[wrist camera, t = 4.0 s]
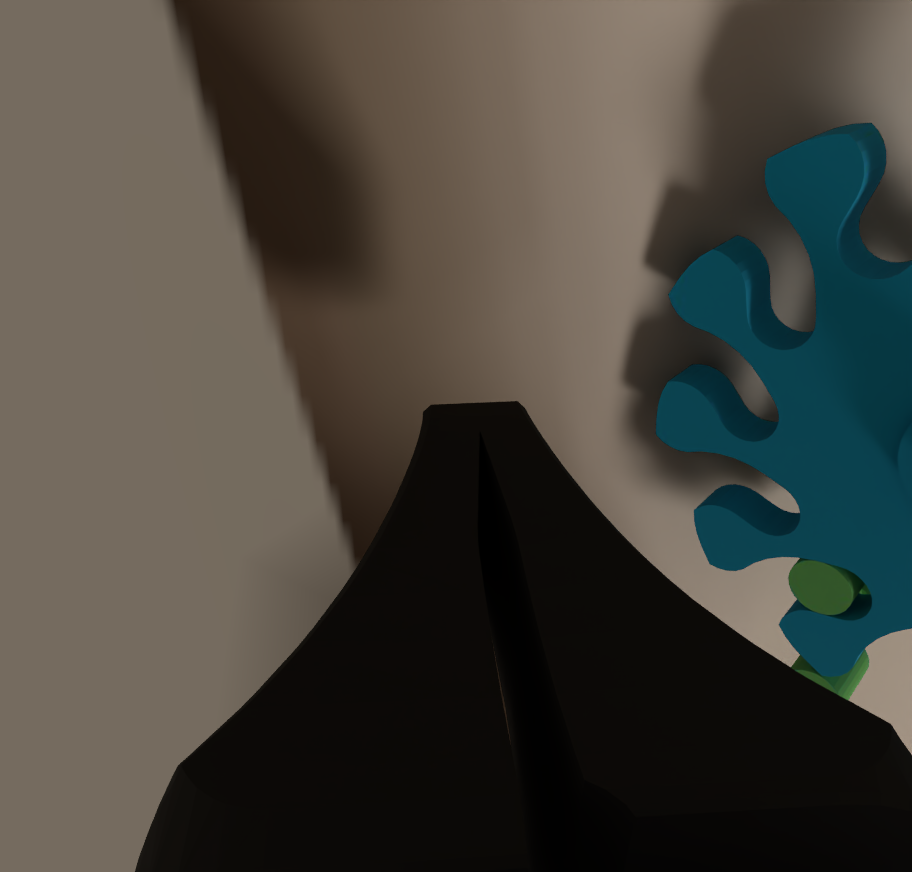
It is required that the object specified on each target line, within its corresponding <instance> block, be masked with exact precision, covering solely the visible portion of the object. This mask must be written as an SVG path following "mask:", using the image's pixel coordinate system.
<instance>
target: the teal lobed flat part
mask: <svg viewBox="0 0 912 872" xmlns="http://www.w3.org/2000/svg"><path fill="white" fill-rule="evenodd" d="M885 166H886V148H885V144H884V140H883V138H882V136H881V135H880V133H879V131H878V130H877V129H876V127H875V126H874V125H873V124H872V123H861V124H851V125H846V126H842V127H838V128H834V129H832V130H829V131H827V132H824V133H822V134H819V135H816V136H814V137H812V138H810V139H807V140H805V141H803V142H801V143H798V144H796V145H794V146H792V147H790V148H788V149H786V150H784V151H782V152H780V153H778V154H776V155H774V156H772V157H770V158H768V159H767V163H766V168H765V184H766V187H767V191H768V194H769V196H770V198H771V200H772V201H773V203H774V205H775V206H776V207H777V208H778V209H779V210H780V211H781V212H782V213H783V214H784V215H785V216H786V217H787V219H788V220H789V221H790V222H791V224H792V225H793V227H794V228H795V230H796V231H797V233H798V234H799V235H800V237H801V239H802V241H803V243H804V246H805V248H806V250H807V252H808V254H809V257H810V261H811V265H812V268H813V272H814V278H815V289H816V324H815V329H814V331H812V332H799V331H796V330H793V329H790V328H789V327H787V326H785V325H784V324H783V323H782V322H781V321H780V320H779V319H778V318H777V316H776V315H775V314H774V311H773V309H772V306H771V299H770V274H769V267H768V264H767V261H766V259H765V257H764V255H763V254H762V252H761V250H760V249H759V248H758V247H757V246H756V245H755V244H754V243H752V242H751V241H749V240H748V239H746V238H743V237H741V236H738V235H737V236H736V237H734V238H732V239H730V240H728V241H727V242H725V243H723V244H721V245H719V246H718V247H716V248H714V249H712V250H710V251H709V252H707V253H705V254H703V255H701V256H700V257H699V258H698V259H697V260H695V261H694V262H693V263H692V264H691V265H690V266H689V267H688V268H687V269H686V271H685V272H684V273H683V274H682V275H681V277H680V278H679V279H678V281H677V282H676V284H675V285H674V287H673V288H672V290H671V291H670V293H669V294H668V295H669V298H670V301H671V304H672V306H673V307H674V309H675V310H676V312H677V314H678V315H679V316H680V317H681V318H682V319H683V320H684V321H686V322H687V323H689V324H690V325H692V326H694V327H697V328H699V329H702V330H704V331H707V332H709V333H711V334H713V335H715V336H717V337H718V338H720V339H722V340H724V341H725V342H726V343H728V344H729V345H730V346H731V347H733V348H734V349H735V350H737V351H738V352H739V353H740V354H741V355H742V356H743V357H744V358H745V359H746V360H747V361H748V363H749V364H750V365H751V366H752V367H753V369H754V370H755V371H756V373H757V374H758V376H759V377H760V379H761V380H762V382H763V383H764V385H765V387H766V388H767V390H768V392H769V393H770V395H771V397H772V398H773V400H774V402H775V404H776V406H777V409H778V414H779V421H778V422H772V421H766V420H763V419H761V418H759V417H757V416H755V415H754V414H753V413H752V412H750V411H749V410H748V408H747V407H746V406H745V404H744V403H743V401H742V399H741V398H740V396H739V394H738V393H737V391H736V389H735V388H734V386H733V385H732V383H731V382H730V380H729V379H728V378H727V377H726V376H725V375H724V374H723V373H721V372H720V371H718V370H717V369H715V368H713V367H710V366H708V365H702V364H694V365H691V366H689V367H688V368H686V369H685V370H684V371H682V372H681V373H679V374H678V375H677V376H675V377H674V378H672V379H671V380H670V381H668V383H667V384H666V386H665V388H664V389H663V391H662V394H661V397H660V400H659V404H658V411H657V419H656V435H657V436H658V437H659V438H660V439H661V440H662V441H663V442H664V443H666V444H667V445H668V446H670V447H672V448H674V449H676V450H679V451H684V452H699V451H703V452H711V453H718V454H722V455H725V456H729V457H732V458H735V459H737V460H739V461H742V462H744V463H746V464H749V465H750V466H752V467H754V468H755V469H757V470H759V471H760V472H762V473H763V474H765V475H766V476H768V477H769V478H771V479H772V480H774V481H775V482H776V483H778V484H779V485H781V486H782V487H784V488H785V489H786V490H787V491H788V492H789V493H791V495H792V496H793V497H794V499H795V500H796V502H797V504H798V506H799V510H800V513H791V512H787V511H784V510H782V509H780V508H778V507H777V506H775V505H774V504H772V503H771V502H770V501H768V500H767V499H765V498H764V497H763V496H761V495H760V494H758V493H757V492H755V491H753V490H752V489H750V488H747V487H745V486H741V485H736V484H733V485H725V486H721V487H720V488H718V489H716V490H715V491H714V492H713V493H712V494H711V495H710V496H709V497H708V498H707V499H705V500H704V501H703V502H702V503H701V504H700V505H699V506H698V507H697V508H696V509H695V510H694V522H695V526H696V531H697V535H698V537H699V540H700V543H701V546H702V548H703V550H704V553H705V555H706V557H707V559H708V561H709V564H711V565H713V566H715V567H717V568H719V569H723V570H727V571H737V570H741V569H744V568H746V567H747V566H749V565H751V564H753V563H755V562H758V561H761V560H764V559H768V558H776V557H798V558H800V559H799V560H798V561H797V563H796V564H795V565H794V566H793V567H792V569H791V571H790V573H789V585H790V588H791V591H792V592H793V594H794V596H795V597H796V598H797V600H796V601H795V603H794V604H793V605H792V607H791V608H790V609H789V610H788V612H787V613H786V614H785V615H784V617H783V618H782V619H781V621H780V623H779V626H780V628H781V629H782V631H783V633H784V635H785V637H786V638H787V639H788V641H789V642H790V643H791V645H792V646H793V647H794V648H795V649H796V651H797V652H798V653H799V654H800V656H799V657H798V659H797V660H796V661H795V663H794V664H793V665H792V667H791V668H792V669H794V670H795V671H797V672H799V673H800V674H802V675H803V676H805V677H807V678H808V679H810V680H812V681H814V682H816V683H817V684H819V685H821V686H823V687H825V688H827V689H828V690H830V691H832V692H834V693H836V694H837V695H839V696H841V697H843V698H845V699H846V700H849V698H850V696H851V695H852V693H853V692H854V690H855V688H856V687H857V685H858V683H859V682H860V680H861V679H862V677H863V675H864V674H865V672H866V671H867V669H868V667H869V658H868V655H867V653H866V650H865V648H866V647H867V646H868V645H869V644H871V643H872V642H874V641H875V640H876V639H878V638H880V637H882V636H885V635H887V634H889V633H892V632H897V631H901V630H905V629H911V628H912V260H911V261H907V262H901V263H898V262H888V261H885V260H881V259H880V258H878V257H876V256H874V255H873V254H872V253H871V252H870V251H869V250H867V248H866V247H865V245H864V244H863V242H862V239H861V237H860V233H859V222H860V216H861V214H862V212H863V210H864V207H865V206H866V204H867V203H868V201H869V199H870V198H871V196H872V194H873V193H874V191H875V189H876V188H877V186H878V184H879V183H880V180H881V178H882V176H883V174H884V170H885Z"/></svg>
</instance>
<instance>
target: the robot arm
mask: <svg viewBox="0 0 912 872" xmlns="http://www.w3.org/2000/svg"><path fill="white" fill-rule="evenodd" d="M491 636H492V637H491ZM492 641H493V643H492ZM493 646H494V649H493ZM494 651H495V655H494ZM495 657H496V661H495ZM496 662H497V667H498V672H499V677H500V682H501V687H502V692H503V697H504V702H505V707H506V713H507V720H508V726H509V733H510V740H511V745H510V740H509V734H508V729H507V724H506V718H505V713H504V708H503V703H502V697H501V691H500V685H499V679H498V673H497V667H496ZM135 872H912V755H911V753H910V752H909V750H908V749H907V748H906V746H905V745H904V743H903V742H902V741H901V739H900V738H899V736H898V735H897V733H896V731H895V730H894V728H893V726H892V725H891V724H890V723H888V722H886V721H884V720H883V719H881V718H879V717H877V716H875V715H874V714H872V713H870V712H868V711H866V710H865V709H863V708H861V707H859V706H857V705H855V704H854V703H852V702H850V701H848V700H846V699H845V698H843V697H841V696H839V695H837V694H836V693H834V692H832V691H830V690H828V689H827V688H825V687H823V686H821V685H819V684H817V683H816V682H814V681H812V680H810V679H808V678H807V677H805V676H803V675H802V674H800V673H799V672H797V671H795V670H794V669H792V668H791V667H789V666H787V665H786V664H784V663H783V662H781V661H780V660H778V659H777V658H775V657H773V656H772V655H770V654H769V653H767V652H766V651H764V650H762V649H761V648H759V647H758V646H756V645H755V644H753V643H752V642H750V641H749V640H747V639H746V638H745V637H743V636H742V635H740V634H739V633H737V632H736V631H735V630H733V629H732V628H731V627H729V626H728V625H727V624H725V623H724V622H723V621H721V620H720V619H719V618H717V617H716V616H715V615H713V614H712V613H710V612H709V611H708V610H706V609H705V608H704V607H702V606H701V605H700V604H698V603H697V602H696V601H694V600H693V599H692V598H690V597H689V596H688V595H687V594H686V593H685V592H683V591H682V590H681V589H680V588H679V587H677V586H676V585H675V584H674V583H673V582H671V581H670V580H669V579H668V578H667V577H666V576H665V575H663V574H662V573H661V572H660V571H659V570H658V569H657V568H656V567H655V566H654V565H653V564H651V563H650V562H649V561H648V560H647V559H646V558H645V557H644V556H643V555H642V554H641V553H640V552H639V551H638V550H637V549H636V548H635V547H634V546H633V545H632V544H631V543H630V542H629V541H628V540H627V539H626V538H625V537H624V536H623V535H622V534H621V533H620V532H619V531H618V530H617V529H616V528H615V527H614V526H613V525H612V523H611V522H610V521H609V520H608V519H607V518H606V517H605V516H604V515H603V514H602V513H601V511H600V510H599V509H598V508H597V507H596V506H595V505H594V503H593V502H592V501H591V500H590V499H589V498H588V496H587V495H586V494H585V493H584V491H583V490H582V489H581V488H580V486H579V485H578V484H577V483H576V481H575V480H574V479H573V478H572V476H571V475H570V474H569V473H568V471H567V470H566V469H565V468H564V466H563V465H562V464H561V462H560V461H559V460H558V458H557V457H556V455H555V454H554V453H553V451H552V450H551V448H550V447H549V446H548V444H547V443H546V441H545V440H544V438H543V437H542V435H541V434H540V432H539V431H538V429H537V428H536V426H535V425H534V423H533V421H532V420H531V418H530V416H529V415H528V413H527V411H526V409H525V408H524V407H523V406H522V405H521V404H520V403H519V402H518V401H510V402H486V403H462V404H438V405H430V406H429V407H428V408H427V409H426V410H425V411H424V412H423V421H422V426H421V431H420V435H419V438H418V442H417V445H416V448H415V451H414V454H413V457H412V459H411V462H410V465H409V467H408V469H407V472H406V474H405V477H404V479H403V481H402V484H401V486H400V488H399V491H398V493H397V495H396V497H395V499H394V502H393V504H392V506H391V508H390V509H389V511H388V513H387V515H386V517H385V519H384V521H383V523H382V525H381V526H380V528H379V530H378V532H377V534H376V536H375V538H374V540H373V541H372V543H371V545H370V547H369V548H368V550H367V552H366V553H365V555H364V557H363V558H362V560H361V561H360V563H359V565H358V566H357V568H356V569H355V571H354V572H353V574H352V575H351V577H350V578H349V580H348V581H347V583H346V584H345V586H344V587H343V589H342V590H341V592H340V593H339V594H338V596H337V597H336V598H335V600H334V601H333V602H332V604H331V605H330V606H329V608H328V609H327V610H326V612H325V613H324V615H323V616H322V617H321V618H320V620H319V621H318V622H317V624H316V625H315V626H314V628H313V629H312V630H311V631H310V632H309V634H308V635H307V636H306V638H305V639H304V640H303V641H302V642H301V643H300V645H299V646H298V647H297V648H296V649H295V650H294V652H293V653H292V654H291V655H290V656H289V657H288V658H287V660H285V661H284V662H283V663H282V665H281V666H280V667H279V668H278V669H277V670H276V671H275V672H274V673H273V674H272V676H271V677H270V678H269V679H268V680H267V681H266V682H265V683H264V684H263V685H262V686H261V688H260V689H259V690H258V691H257V692H256V693H255V694H254V695H253V696H252V697H251V698H250V699H249V700H248V701H247V702H246V703H245V704H244V705H243V706H242V707H241V708H240V709H239V710H238V711H237V712H236V713H235V714H234V715H233V716H232V717H230V718H229V719H228V720H227V721H226V722H225V723H224V724H223V725H222V726H221V727H220V728H219V729H218V730H216V731H215V732H214V733H213V734H212V735H211V736H210V737H209V738H208V739H207V740H206V741H205V742H203V743H202V744H201V745H200V746H199V747H198V748H197V749H196V750H195V751H194V752H193V753H192V754H191V755H189V756H188V757H187V758H186V759H185V760H184V761H183V762H181V763H180V764H179V765H178V767H177V769H176V771H175V772H174V774H173V776H172V779H171V781H170V783H169V785H168V787H167V789H166V792H165V794H164V796H163V798H162V800H161V802H160V804H159V807H158V809H157V812H156V814H155V817H154V820H153V822H152V824H151V827H150V829H149V832H148V835H147V837H146V840H145V843H144V845H143V848H142V851H141V853H140V856H139V859H138V863H137V866H136V870H135Z"/></svg>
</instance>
